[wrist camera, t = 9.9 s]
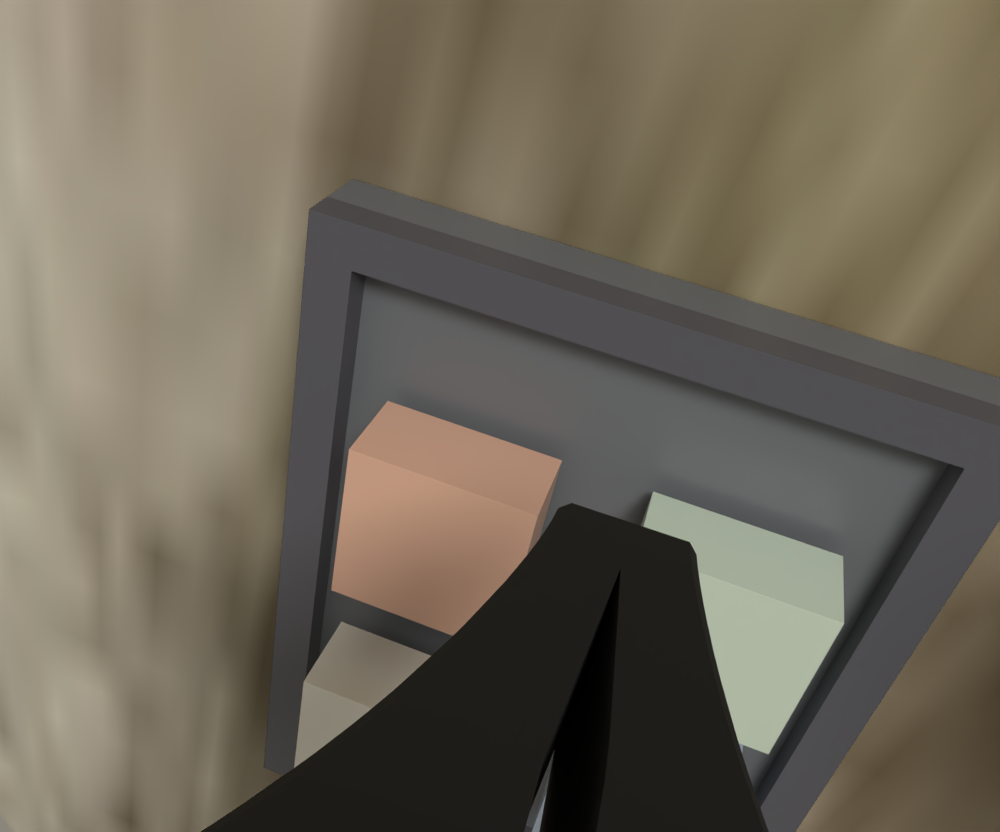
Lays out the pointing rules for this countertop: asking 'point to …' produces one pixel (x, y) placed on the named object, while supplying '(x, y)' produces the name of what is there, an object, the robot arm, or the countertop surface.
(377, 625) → the dark grey tray
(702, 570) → the key sage
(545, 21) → the countertop surface
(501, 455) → the key terracotta
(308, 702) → the key cream
